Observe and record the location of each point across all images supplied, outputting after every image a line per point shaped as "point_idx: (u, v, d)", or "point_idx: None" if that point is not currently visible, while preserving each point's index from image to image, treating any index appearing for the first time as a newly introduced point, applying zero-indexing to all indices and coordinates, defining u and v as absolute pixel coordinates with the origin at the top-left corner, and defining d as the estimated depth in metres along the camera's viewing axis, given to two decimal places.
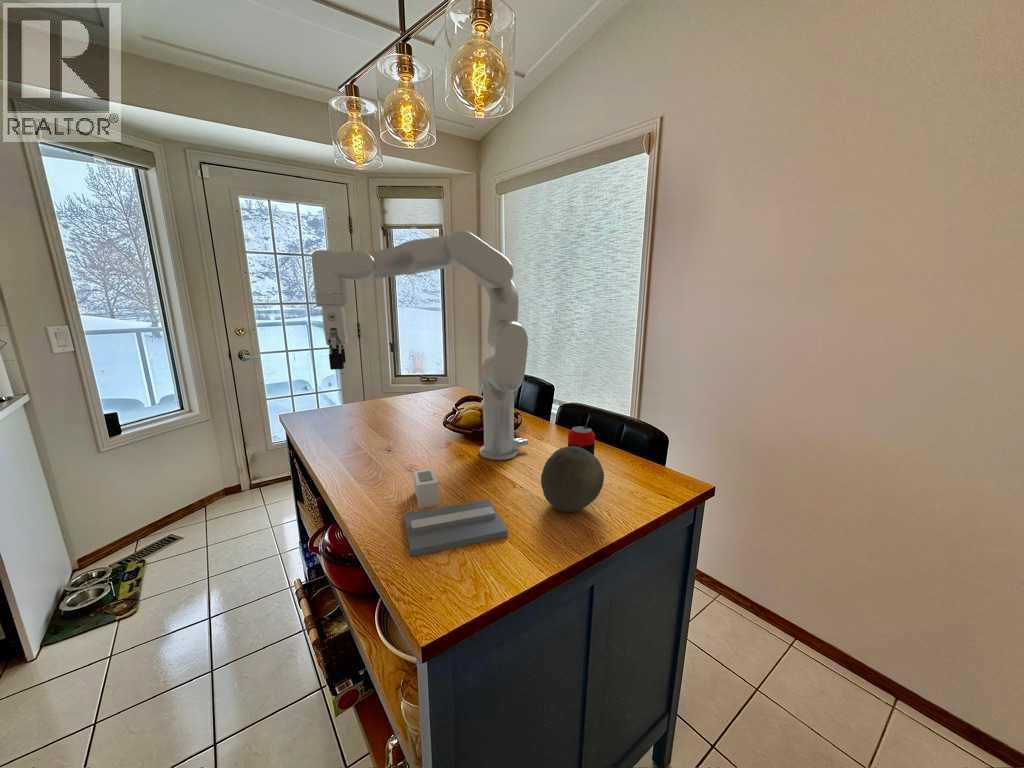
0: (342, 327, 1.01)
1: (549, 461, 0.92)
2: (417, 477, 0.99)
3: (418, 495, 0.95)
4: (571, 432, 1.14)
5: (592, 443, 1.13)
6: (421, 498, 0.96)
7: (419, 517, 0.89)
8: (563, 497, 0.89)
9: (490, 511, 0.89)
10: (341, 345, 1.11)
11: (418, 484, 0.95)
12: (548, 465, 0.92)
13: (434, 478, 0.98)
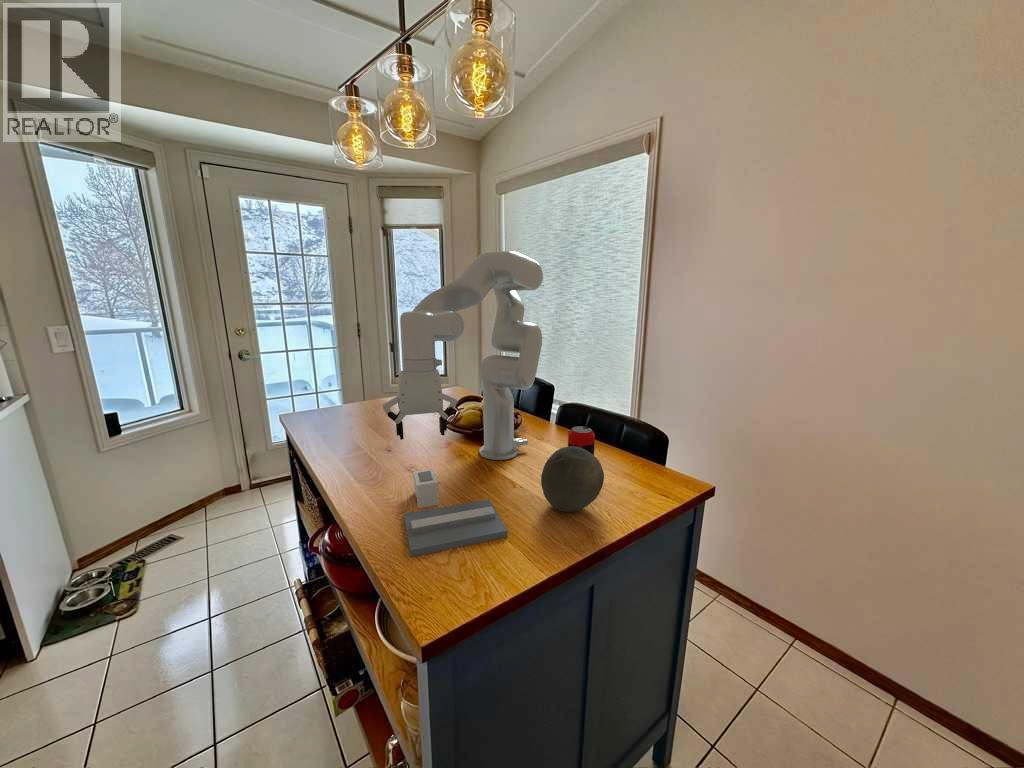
0: None
1: (549, 461, 0.92)
2: (417, 477, 0.99)
3: (418, 495, 0.95)
4: (571, 432, 1.14)
5: (592, 443, 1.13)
6: (421, 498, 0.96)
7: (419, 517, 0.89)
8: (563, 497, 0.89)
9: (490, 511, 0.89)
10: None
11: (418, 484, 0.95)
12: (548, 465, 0.92)
13: (434, 478, 0.98)
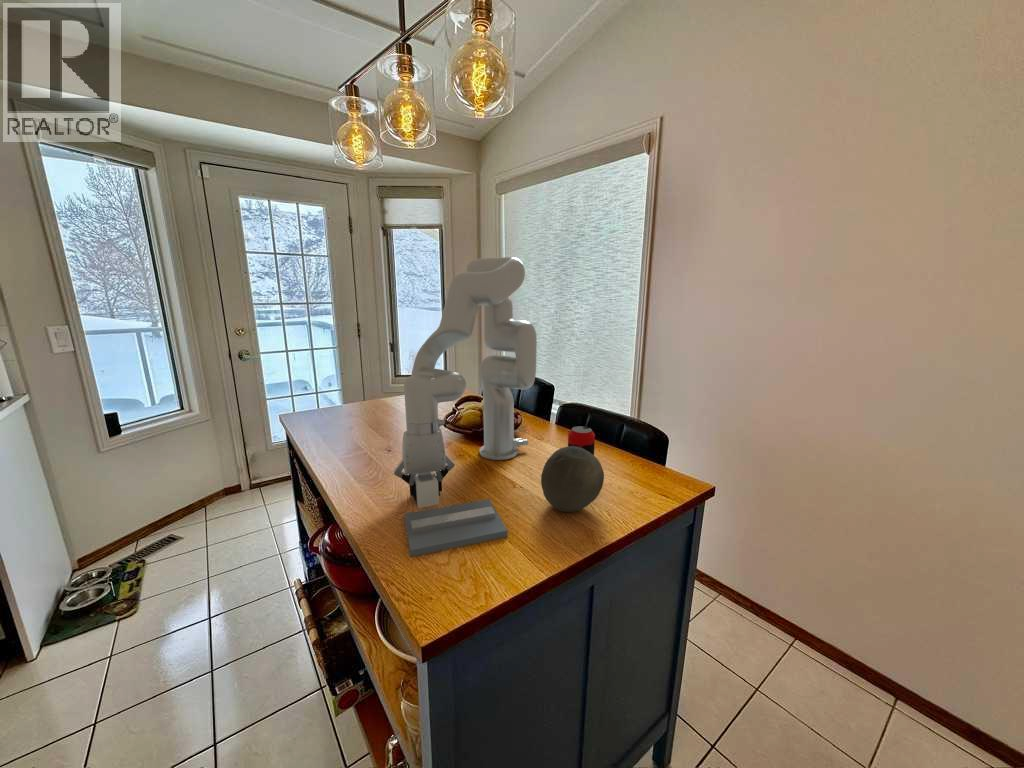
0: None
1: (549, 461, 0.92)
2: (417, 477, 0.99)
3: (418, 495, 0.95)
4: (571, 432, 1.14)
5: (592, 443, 1.13)
6: (421, 498, 0.96)
7: (419, 517, 0.89)
8: (563, 497, 0.89)
9: (490, 511, 0.89)
10: None
11: (418, 484, 0.95)
12: (548, 465, 0.92)
13: (434, 478, 0.98)
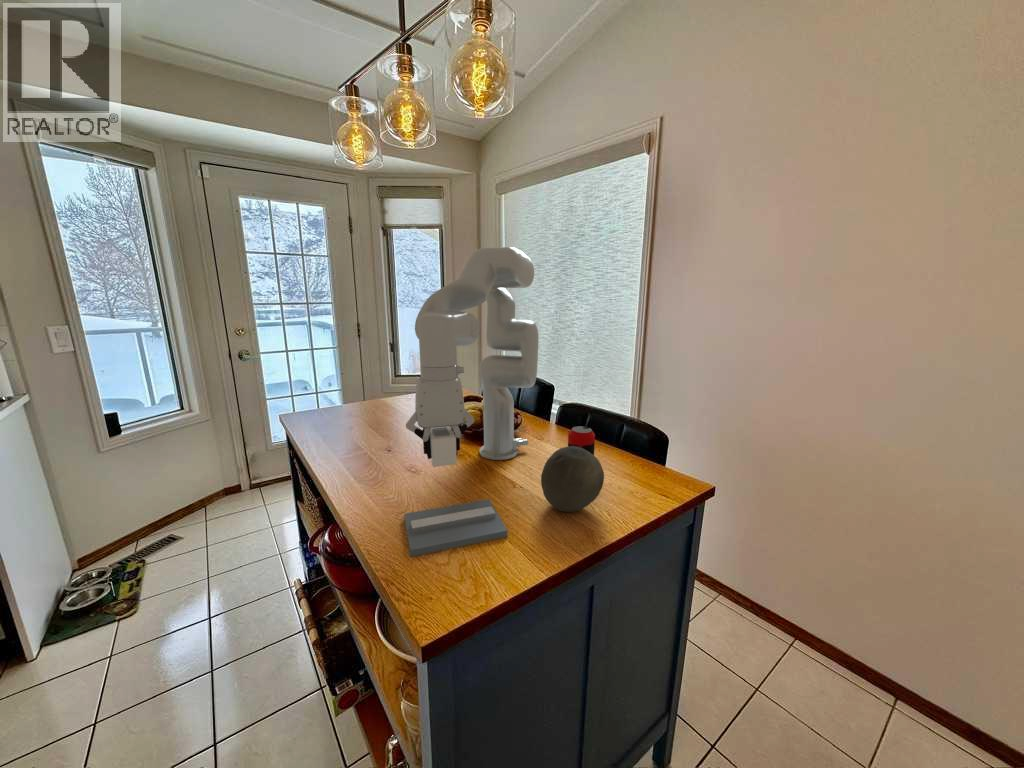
0: None
1: (549, 461, 0.92)
2: (432, 433, 0.86)
3: (433, 451, 0.83)
4: (571, 432, 1.14)
5: (592, 443, 1.13)
6: (436, 455, 0.83)
7: (419, 517, 0.89)
8: (563, 497, 0.89)
9: (490, 511, 0.89)
10: None
11: (433, 439, 0.83)
12: (548, 465, 0.92)
13: (451, 434, 0.86)
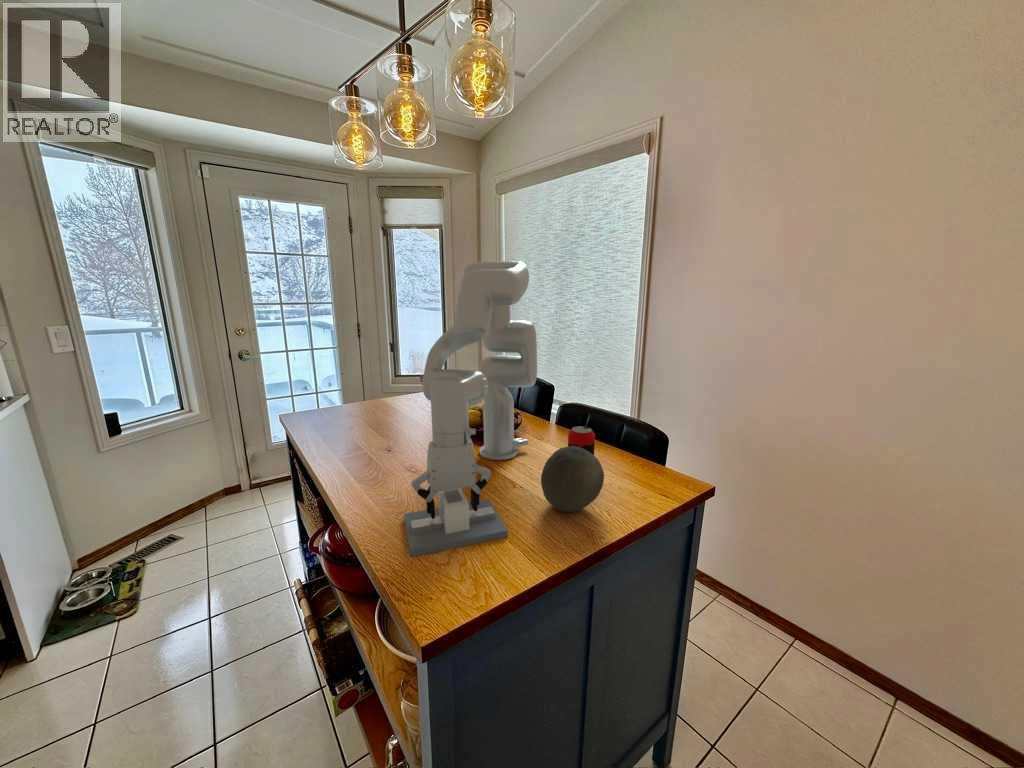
0: None
1: (549, 461, 0.92)
2: (444, 497, 0.86)
3: (446, 519, 0.82)
4: (571, 432, 1.14)
5: (592, 443, 1.13)
6: (449, 522, 0.83)
7: (419, 517, 0.89)
8: (563, 497, 0.89)
9: (490, 511, 0.89)
10: None
11: (446, 506, 0.82)
12: (548, 465, 0.92)
13: (463, 498, 0.85)
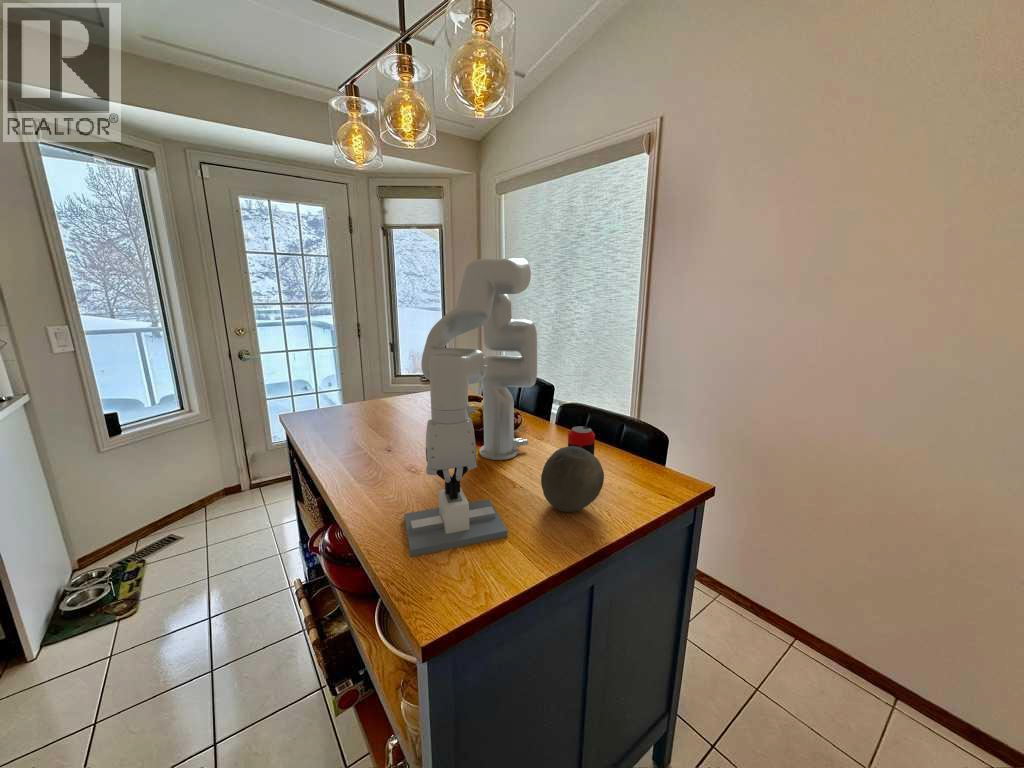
0: None
1: (549, 461, 0.92)
2: (444, 497, 0.86)
3: (446, 519, 0.82)
4: (571, 432, 1.14)
5: (592, 443, 1.13)
6: (449, 522, 0.83)
7: (419, 517, 0.89)
8: (563, 497, 0.89)
9: (490, 511, 0.89)
10: None
11: (446, 506, 0.82)
12: (548, 465, 0.92)
13: (463, 498, 0.85)
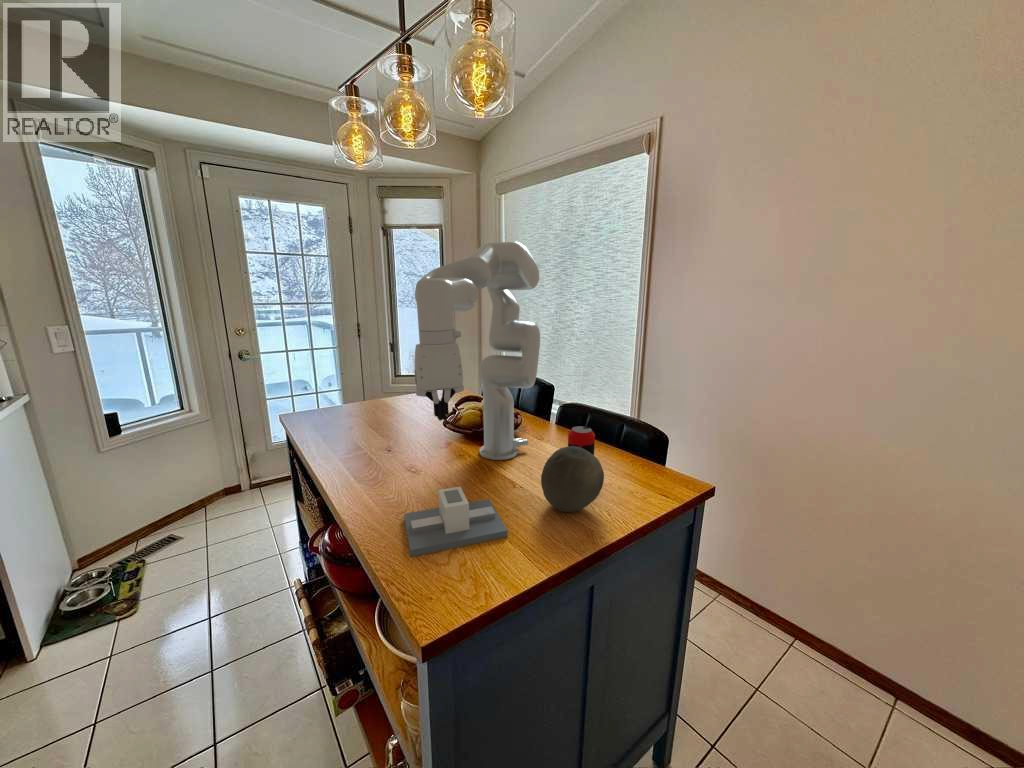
0: None
1: (549, 461, 0.92)
2: (444, 497, 0.86)
3: (446, 519, 0.82)
4: (571, 432, 1.14)
5: (592, 443, 1.13)
6: (449, 522, 0.83)
7: (419, 517, 0.89)
8: (563, 497, 0.89)
9: (490, 511, 0.89)
10: None
11: (446, 506, 0.82)
12: (548, 465, 0.92)
13: (463, 498, 0.85)
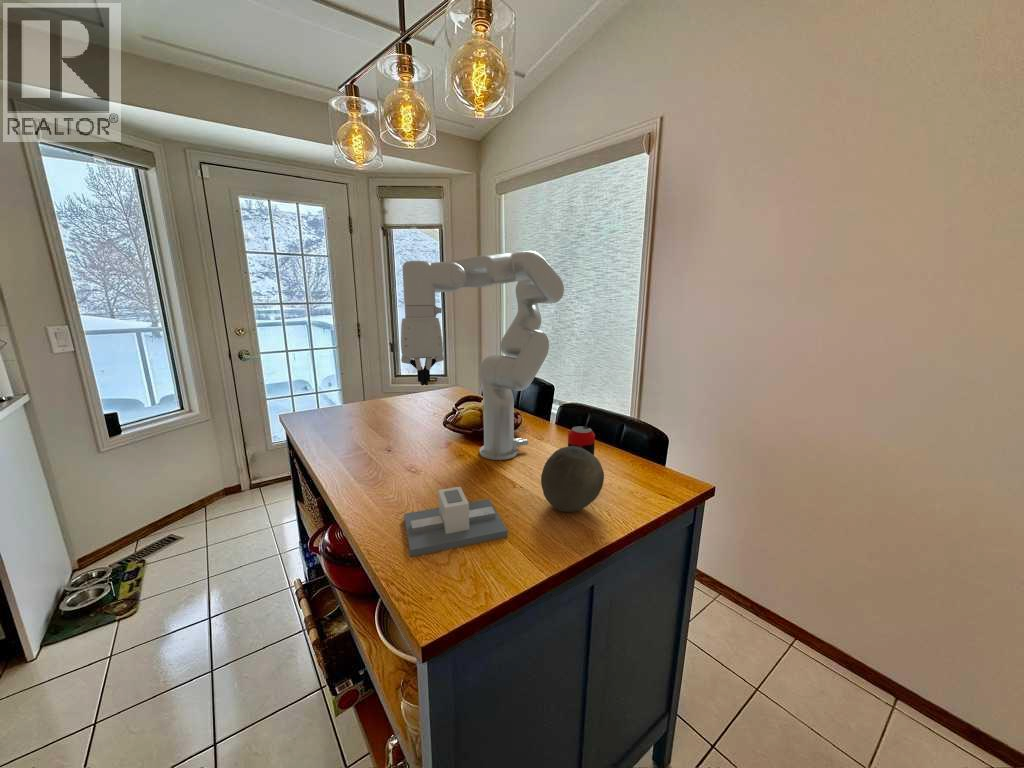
0: None
1: (549, 461, 0.92)
2: (444, 497, 0.86)
3: (446, 519, 0.82)
4: (571, 432, 1.14)
5: (592, 443, 1.13)
6: (449, 522, 0.83)
7: (419, 517, 0.89)
8: (563, 497, 0.89)
9: (490, 511, 0.89)
10: None
11: (446, 506, 0.82)
12: (548, 465, 0.92)
13: (463, 498, 0.85)
